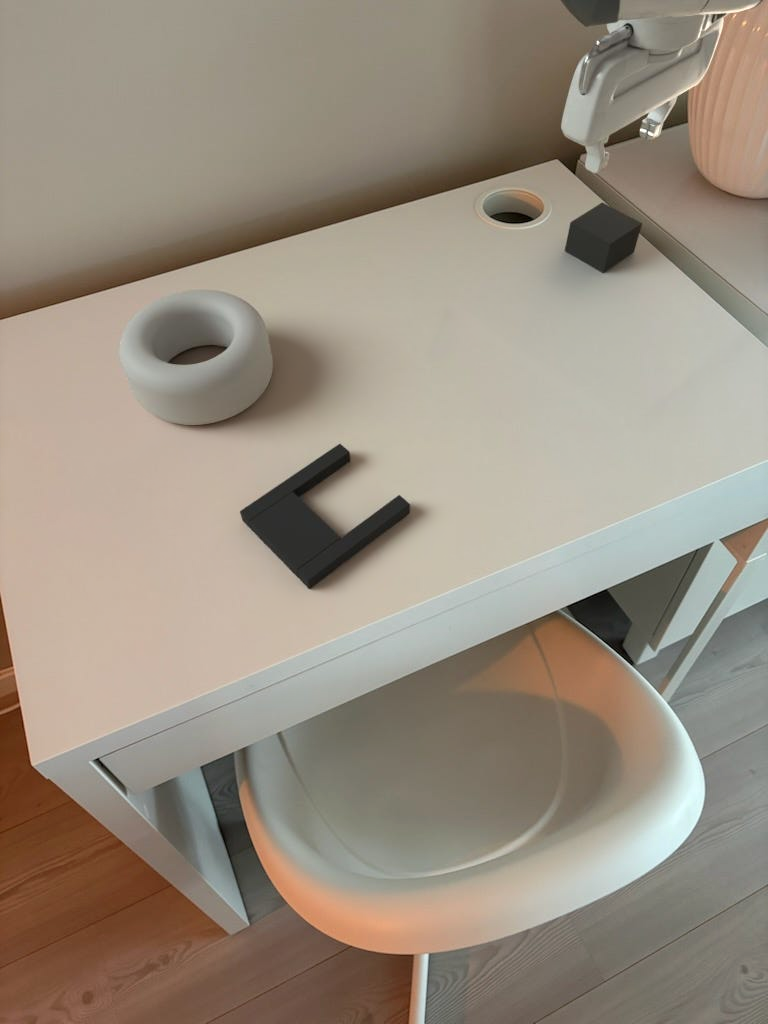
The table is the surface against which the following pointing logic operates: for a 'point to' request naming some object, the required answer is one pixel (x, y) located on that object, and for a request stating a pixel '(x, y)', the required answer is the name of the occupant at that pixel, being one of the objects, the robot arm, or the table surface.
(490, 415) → the table surface
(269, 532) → the base pad
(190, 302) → the thick torus
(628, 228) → the black block
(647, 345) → the table surface
